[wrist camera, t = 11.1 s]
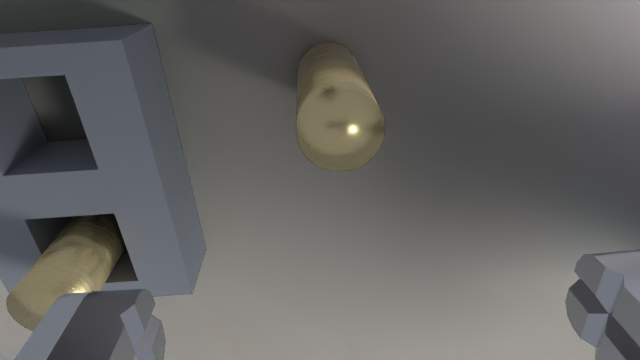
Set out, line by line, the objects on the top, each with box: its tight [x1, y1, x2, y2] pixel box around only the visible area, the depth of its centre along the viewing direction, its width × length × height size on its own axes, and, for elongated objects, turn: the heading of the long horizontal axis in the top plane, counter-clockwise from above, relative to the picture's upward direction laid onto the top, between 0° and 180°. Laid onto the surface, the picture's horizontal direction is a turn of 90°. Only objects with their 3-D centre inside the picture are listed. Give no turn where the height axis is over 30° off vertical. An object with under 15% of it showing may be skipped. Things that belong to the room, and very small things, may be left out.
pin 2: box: [297, 42, 385, 171], centre depth 19 cm, size 3×3×8 cm
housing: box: [0, 24, 206, 297], centre depth 22 cm, size 14×10×4 cm
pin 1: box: [6, 213, 126, 331], centre depth 22 cm, size 3×3×8 cm
